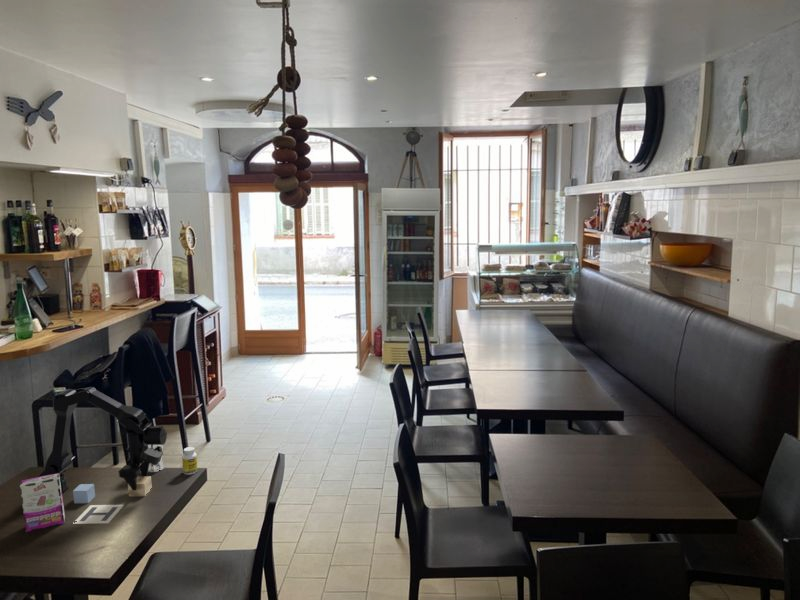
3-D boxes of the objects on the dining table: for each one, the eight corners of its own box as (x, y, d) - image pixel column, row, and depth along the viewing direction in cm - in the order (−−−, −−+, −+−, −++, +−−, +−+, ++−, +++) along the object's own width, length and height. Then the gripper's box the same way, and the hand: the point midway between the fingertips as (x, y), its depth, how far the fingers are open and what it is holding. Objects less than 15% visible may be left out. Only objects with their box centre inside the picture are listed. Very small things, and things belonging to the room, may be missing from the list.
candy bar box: (65, 516, 200) (60, 472, 197) (64, 523, 196) (59, 478, 193) (26, 525, 195) (20, 479, 192) (25, 532, 191) (19, 486, 188)
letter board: (72, 523, 196) (72, 523, 196) (90, 505, 207) (90, 505, 207) (108, 523, 196) (108, 523, 196) (124, 504, 208) (124, 504, 208)
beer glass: (142, 470, 234) (139, 435, 231) (156, 463, 240) (153, 429, 237) (154, 474, 231) (151, 438, 228) (168, 467, 237) (165, 432, 234)
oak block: (129, 497, 213) (127, 484, 213) (136, 488, 219) (134, 476, 219) (145, 496, 214) (144, 484, 213) (152, 488, 219) (151, 476, 219)
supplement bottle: (189, 476, 229) (187, 452, 227) (180, 473, 232) (178, 449, 230) (200, 470, 233) (198, 447, 232) (191, 467, 236) (189, 444, 234)
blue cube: (74, 503, 209) (72, 490, 208) (81, 496, 214) (80, 484, 213) (88, 503, 209) (86, 490, 208) (95, 496, 214) (93, 483, 213)
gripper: (148, 454, 204) (151, 496, 207) (168, 433, 223) (171, 472, 225) (116, 455, 204) (120, 496, 207) (138, 434, 222) (142, 472, 225)
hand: (140, 483), depth 216 cm, fingers open, 9 cm apart
